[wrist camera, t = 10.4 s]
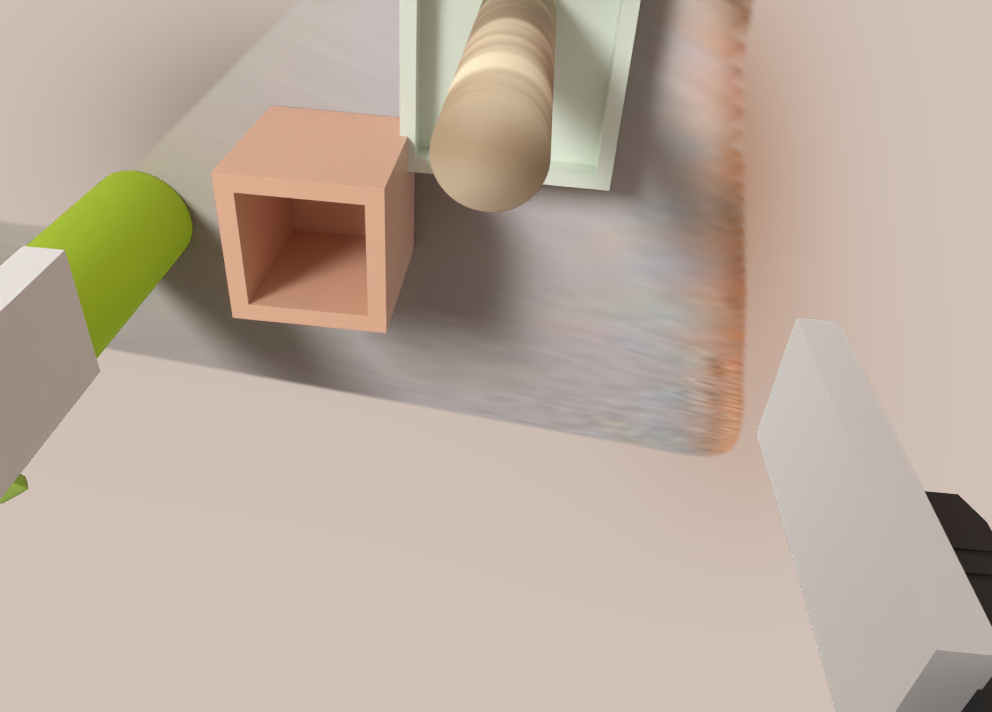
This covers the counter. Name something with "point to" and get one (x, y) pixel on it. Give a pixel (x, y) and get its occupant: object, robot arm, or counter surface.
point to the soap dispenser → (117, 252)
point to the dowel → (499, 108)
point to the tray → (577, 80)
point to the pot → (317, 218)
